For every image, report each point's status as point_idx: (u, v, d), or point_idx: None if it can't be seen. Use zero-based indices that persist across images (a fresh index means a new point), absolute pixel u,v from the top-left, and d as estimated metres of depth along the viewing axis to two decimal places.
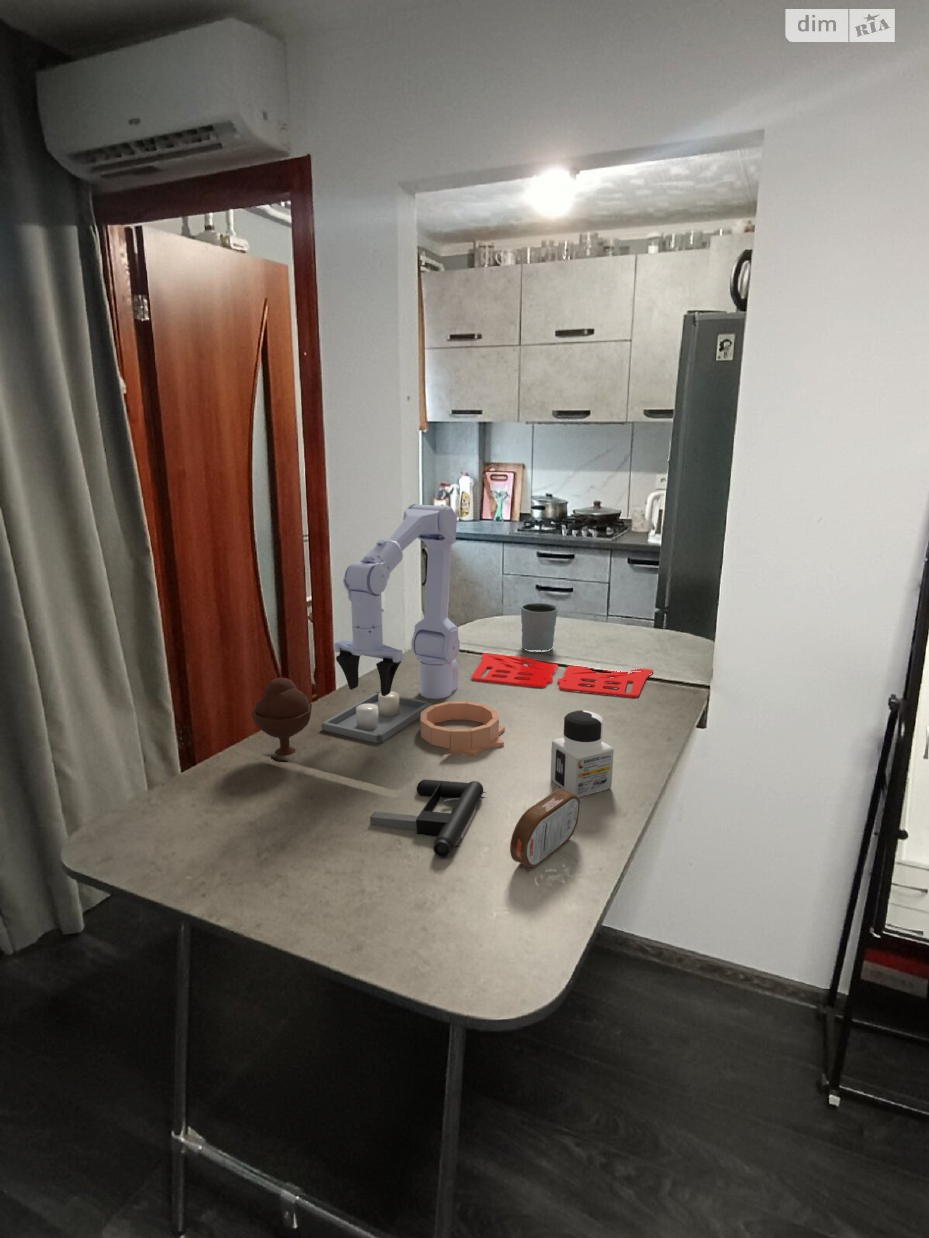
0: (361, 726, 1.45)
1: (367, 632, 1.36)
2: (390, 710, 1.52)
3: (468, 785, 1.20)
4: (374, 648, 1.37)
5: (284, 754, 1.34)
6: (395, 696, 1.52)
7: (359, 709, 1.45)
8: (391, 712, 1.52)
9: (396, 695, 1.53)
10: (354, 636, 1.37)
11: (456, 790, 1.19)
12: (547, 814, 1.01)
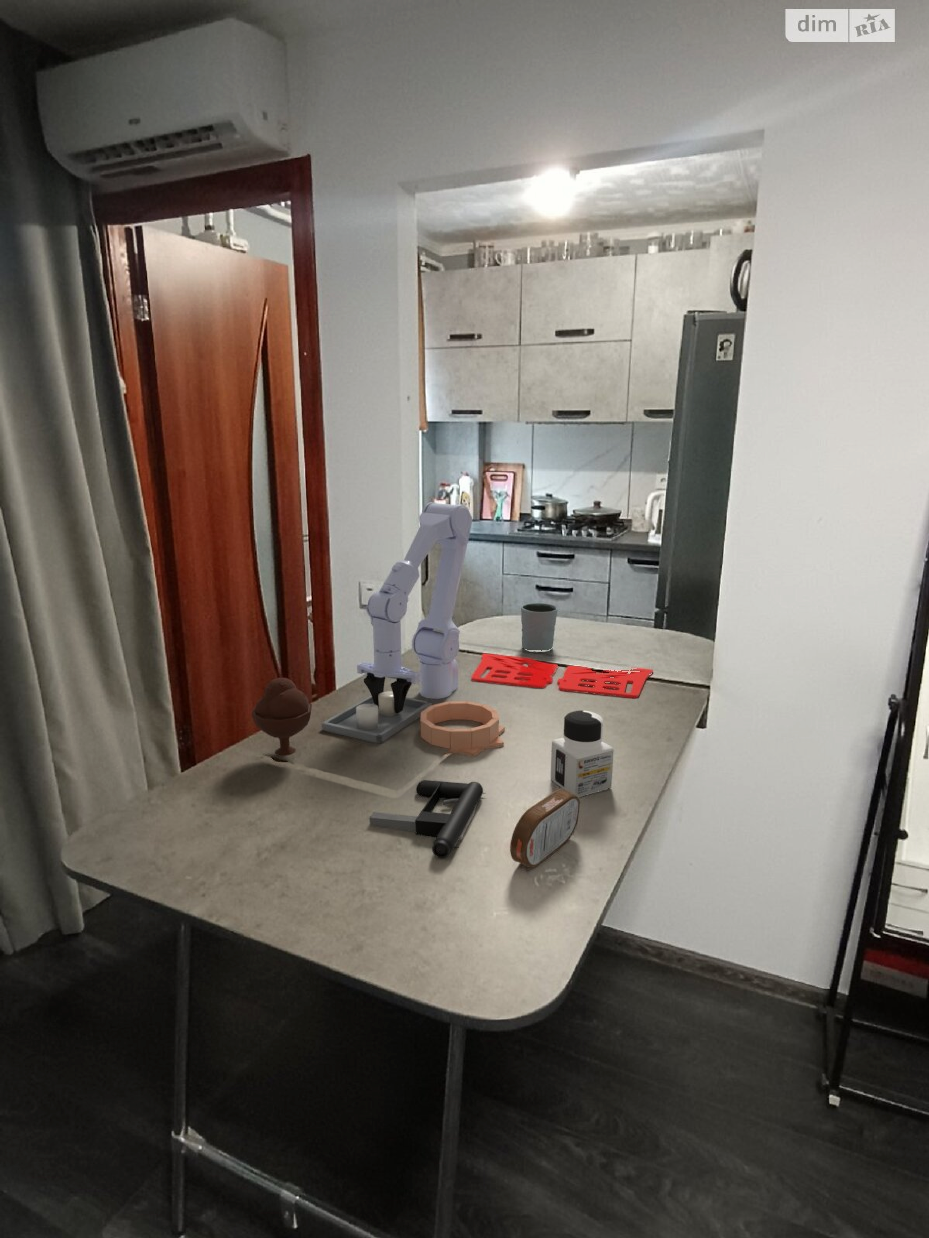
0: (361, 726, 1.45)
1: (388, 656, 1.48)
2: (390, 710, 1.52)
3: (468, 786, 1.19)
4: (394, 670, 1.49)
5: (284, 754, 1.34)
6: None
7: (359, 709, 1.45)
8: (391, 712, 1.52)
9: None
10: (375, 659, 1.49)
11: (455, 790, 1.19)
12: (547, 814, 1.01)
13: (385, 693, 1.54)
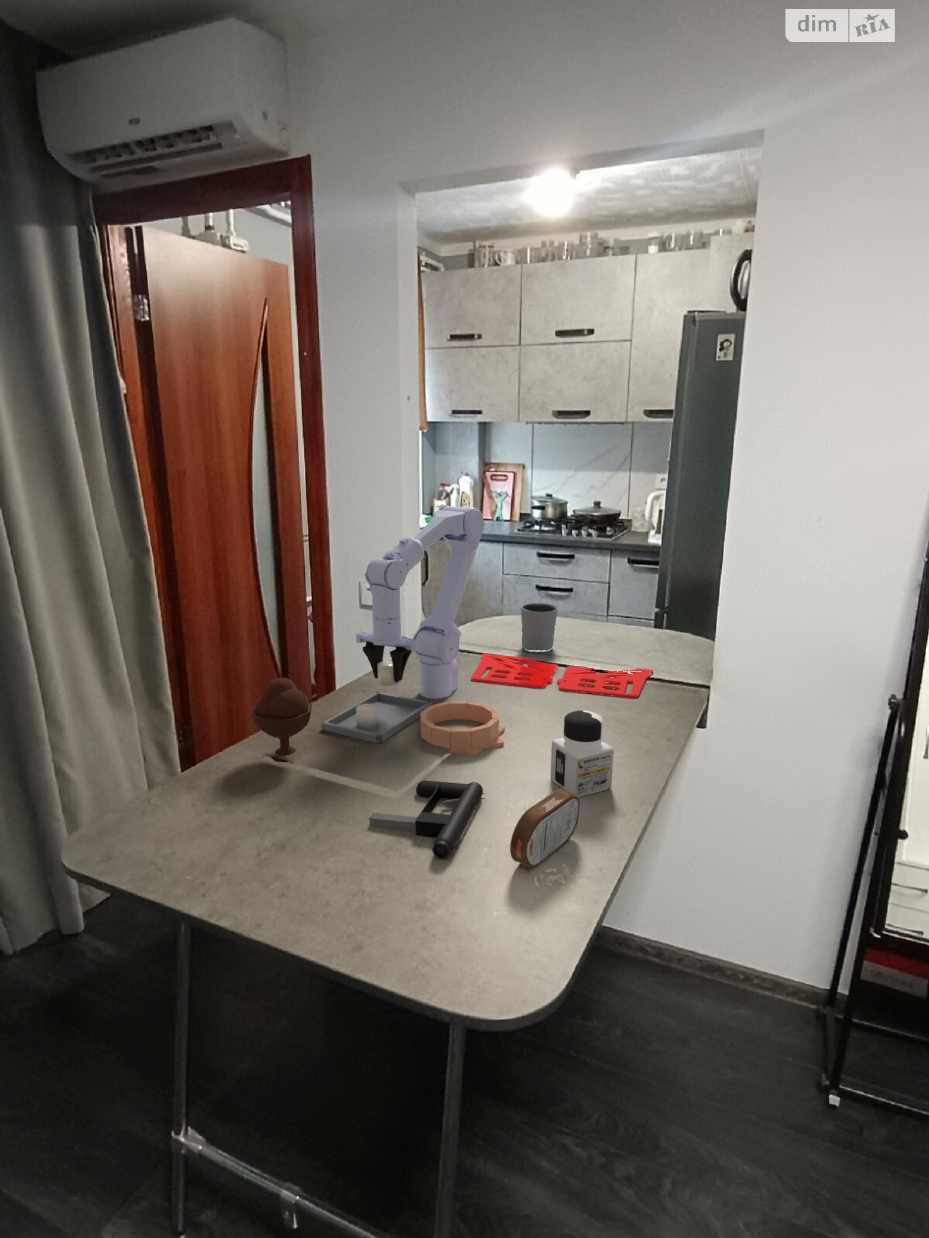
0: (361, 726, 1.45)
1: (387, 623, 1.46)
2: (389, 679, 1.50)
3: (467, 786, 1.19)
4: (393, 638, 1.48)
5: (284, 754, 1.34)
6: None
7: (359, 709, 1.45)
8: (390, 681, 1.50)
9: None
10: (375, 627, 1.48)
11: (455, 791, 1.19)
12: (547, 814, 1.01)
13: (384, 662, 1.52)
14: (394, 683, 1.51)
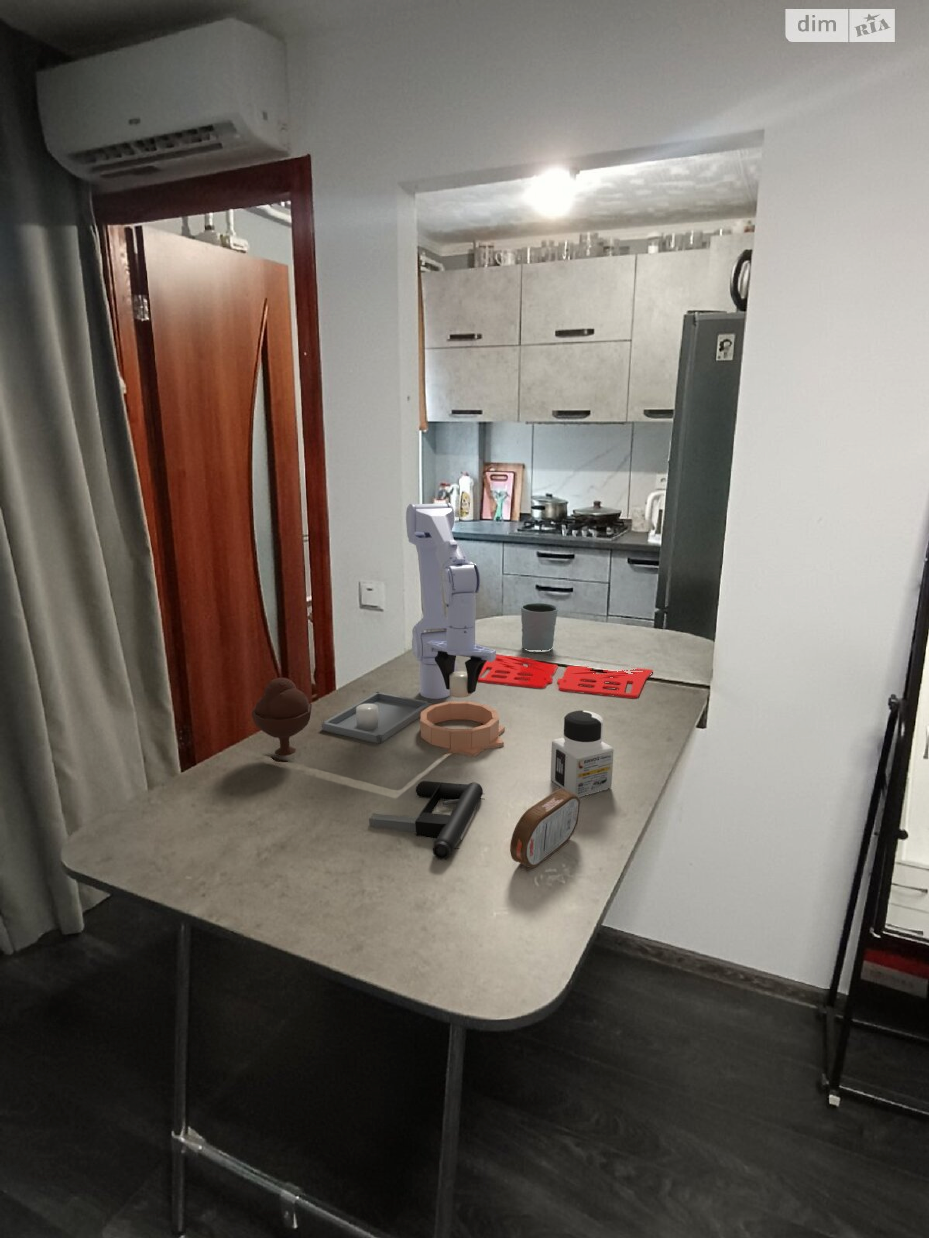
0: (361, 726, 1.45)
1: (462, 632, 1.40)
2: (462, 690, 1.43)
3: (467, 786, 1.19)
4: (468, 648, 1.41)
5: (284, 754, 1.34)
6: None
7: (359, 709, 1.45)
8: (463, 693, 1.43)
9: None
10: (449, 636, 1.41)
11: (455, 791, 1.19)
12: (547, 814, 1.01)
13: (456, 673, 1.46)
14: (467, 695, 1.44)
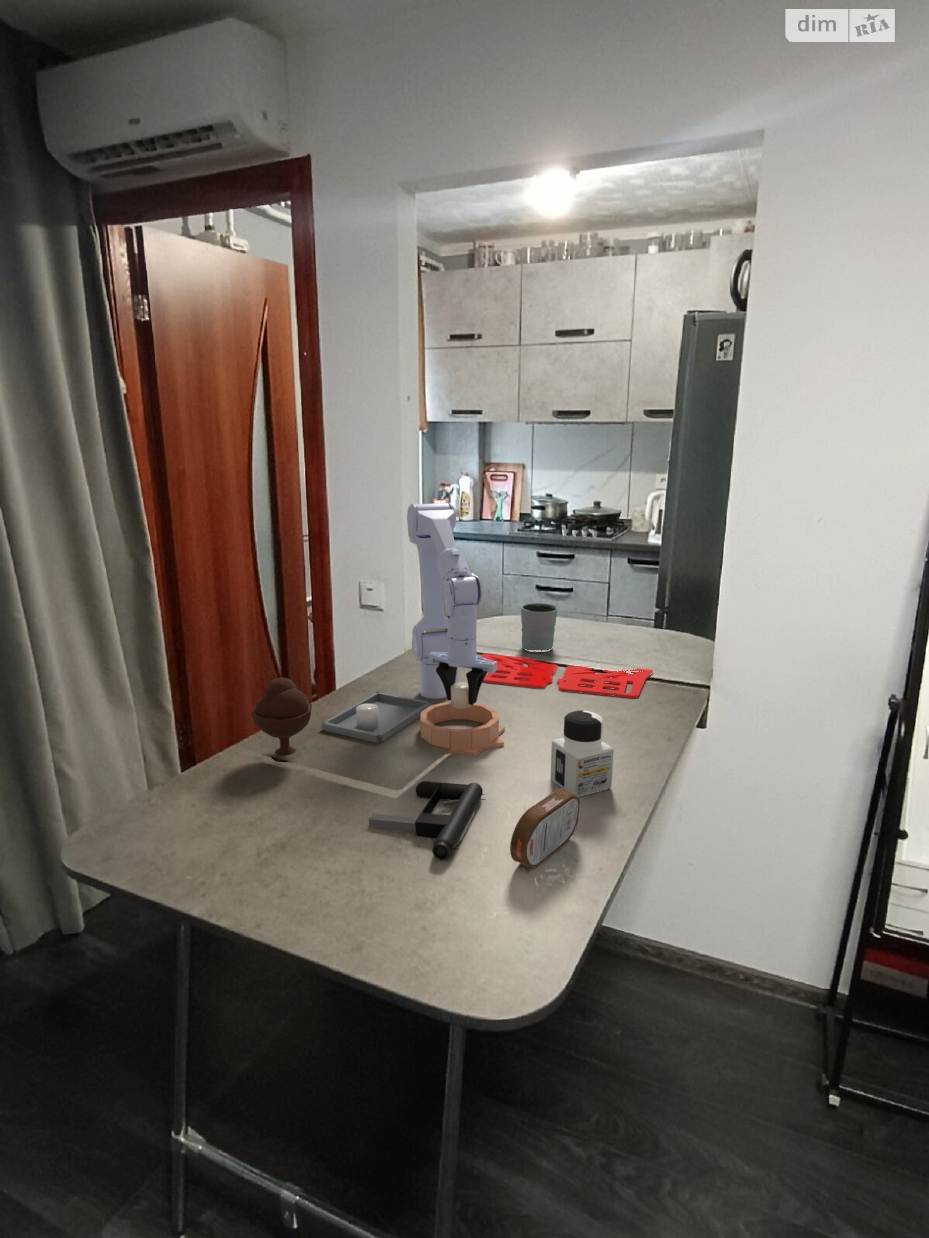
0: (361, 726, 1.45)
1: (463, 644, 1.40)
2: (463, 702, 1.44)
3: (467, 787, 1.19)
4: (469, 659, 1.41)
5: (284, 754, 1.34)
6: None
7: (359, 709, 1.45)
8: (465, 704, 1.44)
9: None
10: (450, 648, 1.42)
11: (455, 791, 1.19)
12: (547, 814, 1.01)
13: (457, 684, 1.46)
14: (468, 706, 1.45)
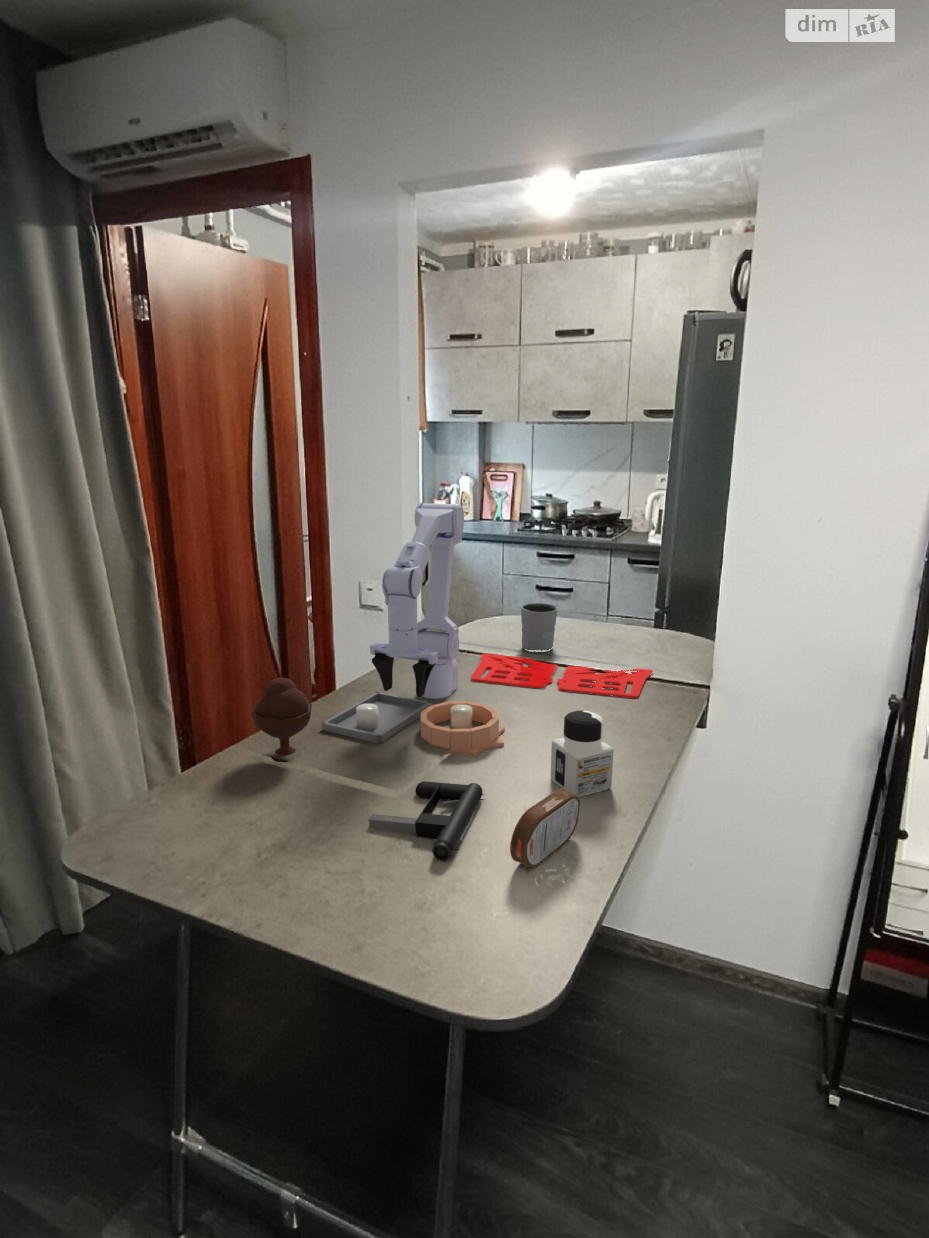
0: (361, 726, 1.45)
1: (404, 635, 1.39)
2: (463, 724, 1.45)
3: (467, 787, 1.19)
4: (410, 650, 1.41)
5: (284, 754, 1.34)
6: (469, 710, 1.45)
7: (359, 709, 1.45)
8: (465, 726, 1.45)
9: (469, 709, 1.46)
10: (390, 639, 1.41)
11: (455, 792, 1.19)
12: (547, 814, 1.01)
13: (457, 706, 1.47)
14: (468, 728, 1.46)
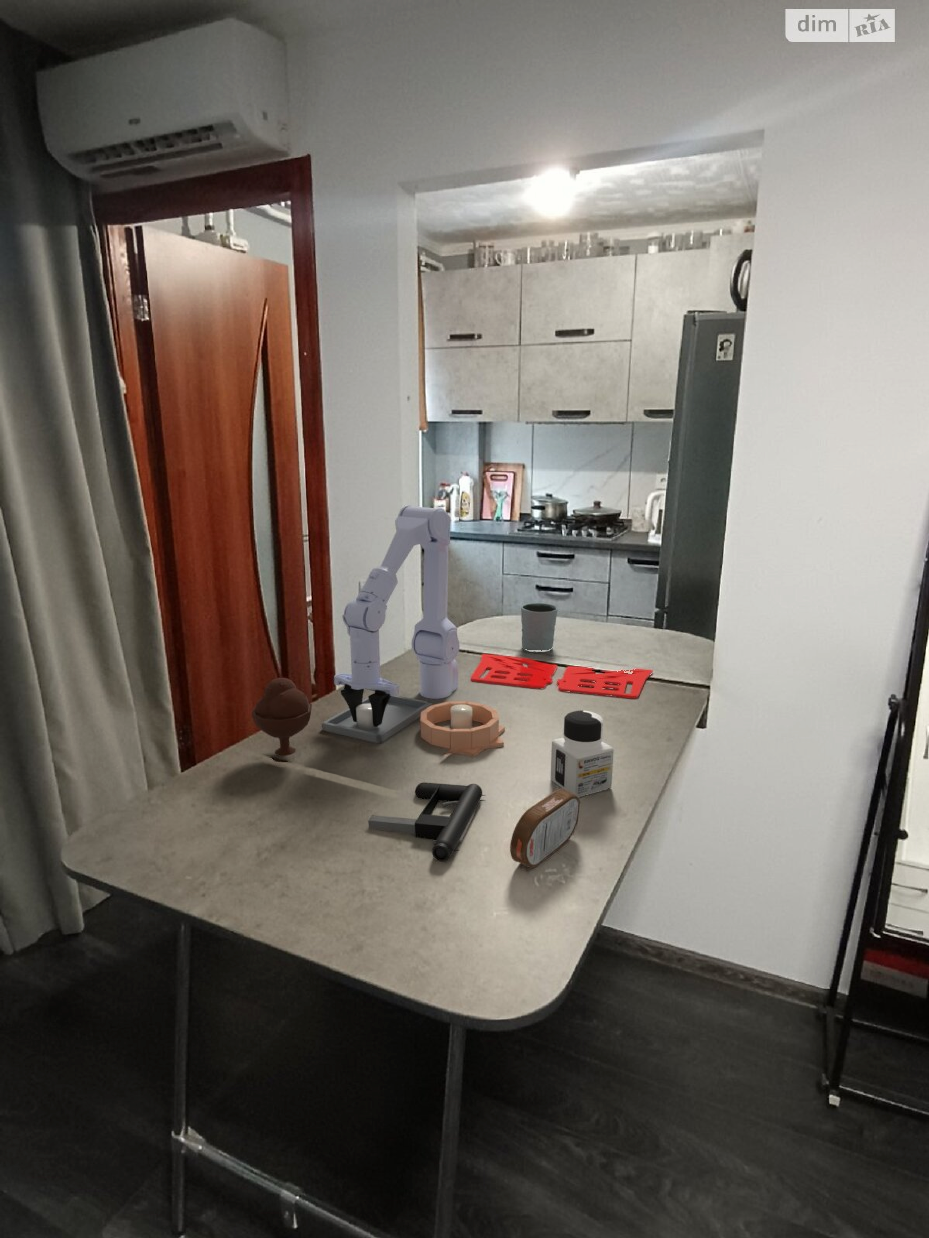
0: (361, 726, 1.45)
1: (365, 667, 1.41)
2: (463, 724, 1.45)
3: (467, 788, 1.19)
4: (372, 682, 1.42)
5: (284, 754, 1.34)
6: (469, 710, 1.45)
7: (359, 709, 1.45)
8: (465, 726, 1.45)
9: (469, 709, 1.46)
10: (353, 670, 1.43)
11: (454, 792, 1.19)
12: (547, 814, 1.01)
13: (457, 706, 1.47)
14: (468, 728, 1.46)
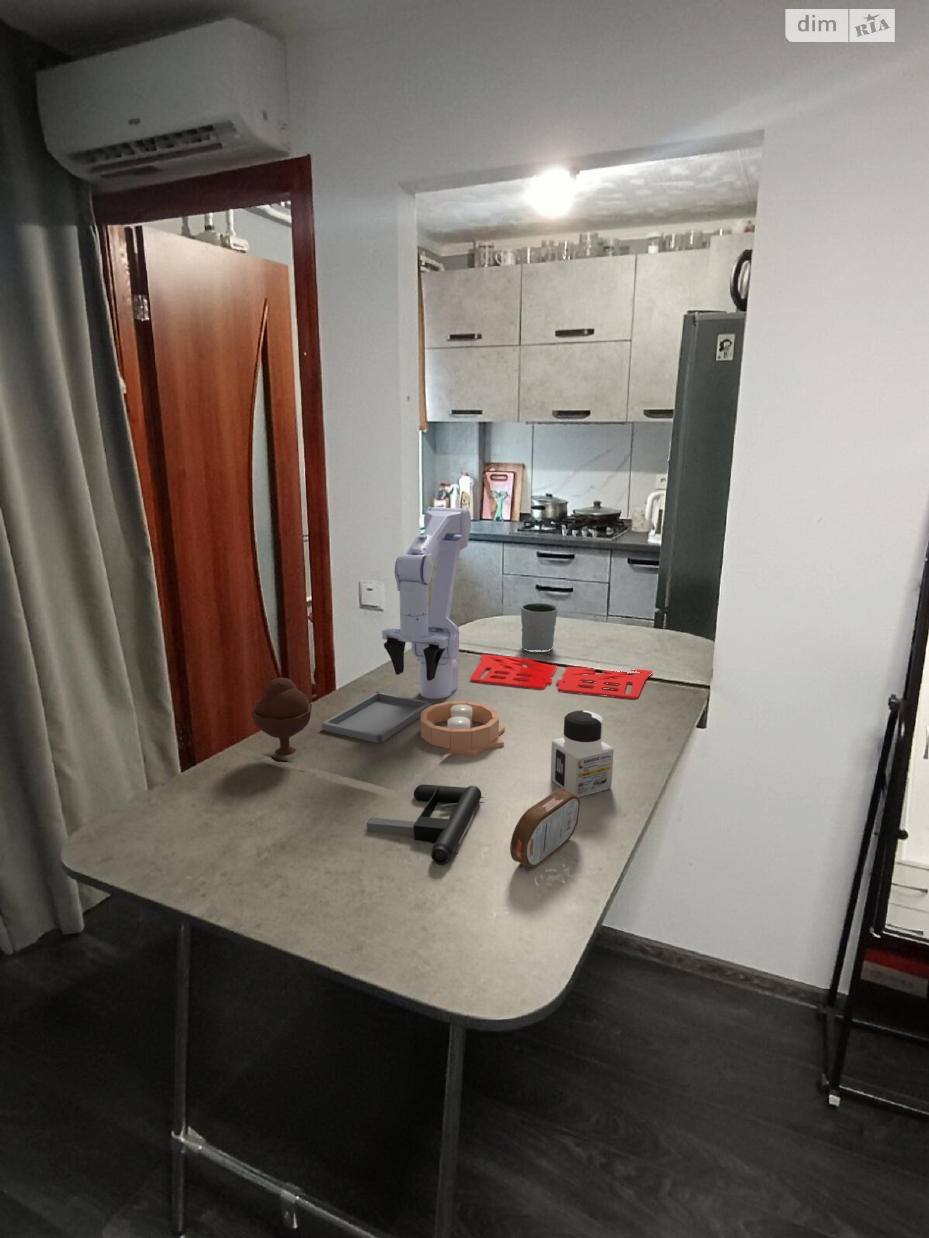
0: None
1: (415, 620, 1.44)
2: None
3: (466, 790, 1.18)
4: (421, 635, 1.45)
5: (284, 754, 1.34)
6: (469, 710, 1.45)
7: (451, 723, 1.39)
8: None
9: (469, 709, 1.46)
10: (402, 624, 1.46)
11: (453, 795, 1.18)
12: (547, 814, 1.01)
13: (457, 706, 1.47)
14: None
